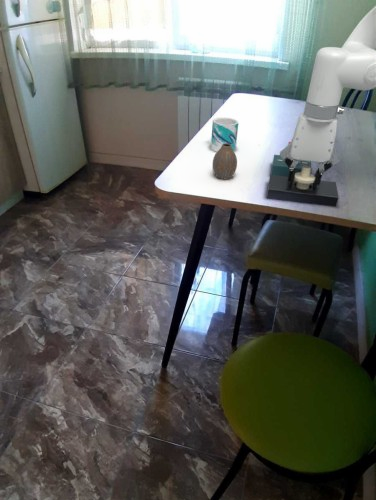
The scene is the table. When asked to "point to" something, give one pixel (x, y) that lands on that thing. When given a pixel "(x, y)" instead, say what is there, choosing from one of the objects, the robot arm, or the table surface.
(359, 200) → the table surface
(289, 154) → the tap knob
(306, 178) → the stopper
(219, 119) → the mug
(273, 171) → the panel
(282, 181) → the black plate with hole
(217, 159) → the vase
